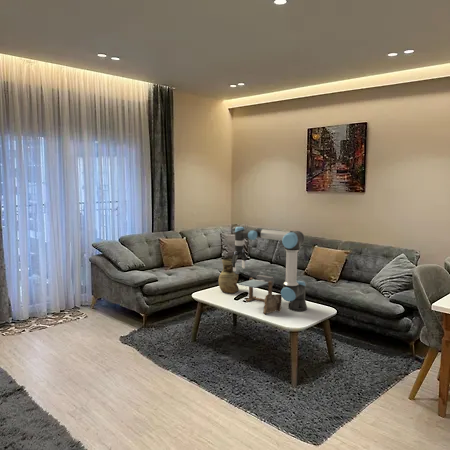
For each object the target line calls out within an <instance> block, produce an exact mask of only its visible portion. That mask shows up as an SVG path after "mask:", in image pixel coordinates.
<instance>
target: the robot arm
mask: <svg viewBox="0 0 450 450" xmlns="http://www.w3.org/2000/svg"><path fill="white" fill-rule="evenodd" d="M257 238H258V239H267V240H275V241H282V245H283V247H284V251H286V253H285V254H286V255H285V258H286V259H285V281H284V282H283V287H282V289H281V291H280V294H281V296H282V300H284V301H285V302H288V306H287V307H288V308H287V309H289V310H290V311H293V312H305V311H307V309H308V305H307V302H306V287H307V285H306V282H305V281H303V280H297V276H298V275H297V274H298V252H299V251H300V249H301V248H300V247H301V245H303V244H304V242H305V239H306V238H305V235H304V233H303V232H302V231H299V230H289V231H286V230H277V229H276V230H274V229H265V228H264V229H263V228H260V227H259V228H254V229H245V227H243V226H236V227H235V229H234V250H235V251H233V255H232V257H231V259H232V261H231V263H233V271H234V272H237V261H238V259H239V257H240V258H241V268H242V269H245V268H246V261H247V255H246V252H245V251H246V250H245V249H244V248H245V247H244V246H245V245H244V244H245V240H251V241H255V240H256V239H257Z"/></svg>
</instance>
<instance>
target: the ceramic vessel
mask: <svg viewBox="0 0 450 450" xmlns="http://www.w3.org/2000/svg"><path fill="white" fill-rule="evenodd" d="M231 261H232V258H222V259H221V263H222V270H221V272H220V274H219V276H218V286H219V289H220V291H221V292H223V293H226V294H235V293H237V292H238V291H239V290H240V288H239V285H238V280H239V274H237V273H236V271H233V263H231Z"/></svg>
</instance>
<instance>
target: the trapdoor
mask: <svg viewBox="0 0 450 450" xmlns="http://www.w3.org/2000/svg"><path fill="white" fill-rule="evenodd" d="M269 281H272V286H274V285H275V284H274V282H275V277H274V276H269V275H263V274H257V275H256V277H255V279H254V278H253V279H252V280H246V281H243V282H237V286H243V287H244V286H245V287H248V288H249V287H253V289H256V288H259V287H262V286H268V282H269Z"/></svg>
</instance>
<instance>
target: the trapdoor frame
mask: <svg viewBox="0 0 450 450" xmlns="http://www.w3.org/2000/svg"><path fill="white" fill-rule="evenodd" d="M252 279H254V277H249V280H252ZM249 280H248V281H249ZM267 295H273V285H272V281H269V282H268V288H267ZM251 301H258V302H263V303H265V298H259V297H257V296H254V288H253V287H248V298H246V299H245V302H247V303H250V302H251Z"/></svg>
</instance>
